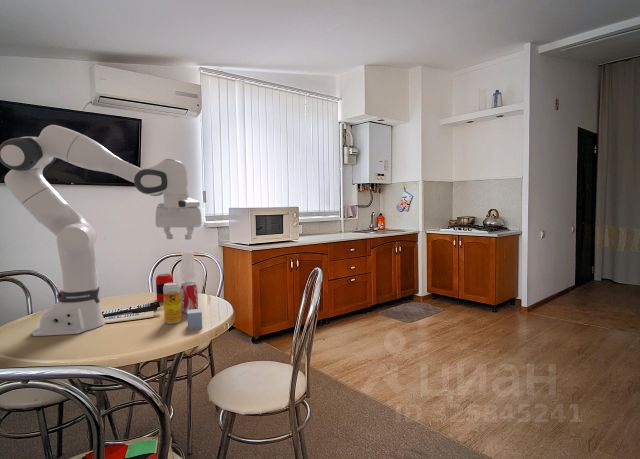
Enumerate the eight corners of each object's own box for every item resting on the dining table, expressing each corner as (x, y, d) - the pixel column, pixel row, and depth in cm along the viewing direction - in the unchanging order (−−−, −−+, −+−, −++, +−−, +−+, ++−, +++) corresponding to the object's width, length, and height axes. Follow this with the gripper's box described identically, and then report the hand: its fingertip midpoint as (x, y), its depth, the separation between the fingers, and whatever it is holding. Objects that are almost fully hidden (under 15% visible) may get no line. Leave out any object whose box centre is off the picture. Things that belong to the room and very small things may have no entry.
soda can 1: (176, 297, 183) (175, 273, 182) (168, 301, 175) (167, 276, 174) (162, 297, 184) (161, 273, 183) (153, 301, 176) (152, 276, 175)
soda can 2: (195, 314, 156) (193, 285, 155) (178, 314, 156) (176, 285, 155) (200, 309, 163) (199, 281, 162) (184, 309, 163) (183, 281, 162)
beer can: (166, 325, 142) (164, 286, 141) (163, 321, 147) (161, 283, 146) (183, 322, 145) (181, 284, 144) (179, 318, 150) (178, 281, 149)
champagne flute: (200, 303, 172) (198, 251, 171) (192, 307, 166) (190, 253, 164) (187, 302, 174) (185, 250, 172) (178, 306, 167) (176, 252, 166)
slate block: (187, 329, 137) (187, 313, 137) (188, 325, 142) (187, 309, 141) (202, 328, 139) (201, 312, 138) (201, 324, 144) (201, 308, 143)
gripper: (149, 203, 144) (152, 239, 145) (190, 202, 135) (193, 240, 137) (163, 203, 150) (165, 237, 151) (203, 201, 141) (205, 238, 142)
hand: (179, 239), depth 144 cm, fingers open, 8 cm apart
